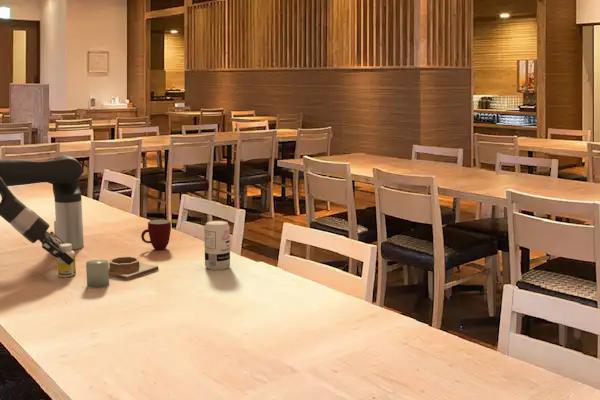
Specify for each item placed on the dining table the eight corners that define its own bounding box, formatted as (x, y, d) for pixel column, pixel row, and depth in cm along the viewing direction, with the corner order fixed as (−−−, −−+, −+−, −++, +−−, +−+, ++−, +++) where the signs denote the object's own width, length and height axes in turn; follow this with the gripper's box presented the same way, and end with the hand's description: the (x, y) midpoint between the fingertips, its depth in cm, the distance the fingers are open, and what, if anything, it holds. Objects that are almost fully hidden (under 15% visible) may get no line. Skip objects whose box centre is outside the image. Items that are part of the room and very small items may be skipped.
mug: (145, 253, 249) (145, 225, 247) (139, 248, 256) (138, 221, 254) (174, 250, 254) (173, 222, 252) (167, 245, 261) (166, 218, 259)
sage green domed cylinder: (82, 285, 211) (81, 263, 209) (98, 280, 216) (97, 258, 215) (97, 289, 207) (96, 266, 206) (113, 283, 213) (112, 261, 212)
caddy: (90, 272, 225) (90, 261, 224) (122, 262, 236) (122, 252, 236) (127, 280, 216) (126, 269, 216) (158, 269, 228) (158, 259, 228)
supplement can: (205, 264, 236) (204, 220, 233) (230, 263, 236) (229, 220, 234) (204, 270, 228) (203, 225, 225) (229, 270, 228) (229, 225, 226)
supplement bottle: (68, 271, 225) (67, 241, 223) (79, 274, 222) (78, 244, 220) (54, 275, 221) (52, 245, 219) (65, 278, 218) (63, 247, 216)
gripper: (24, 228, 223) (65, 263, 228) (17, 238, 209) (62, 275, 214) (40, 211, 223) (82, 246, 228) (35, 220, 209) (79, 257, 214)
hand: (72, 260), depth 221 cm, fingers closed on supplement bottle, 5 cm apart
